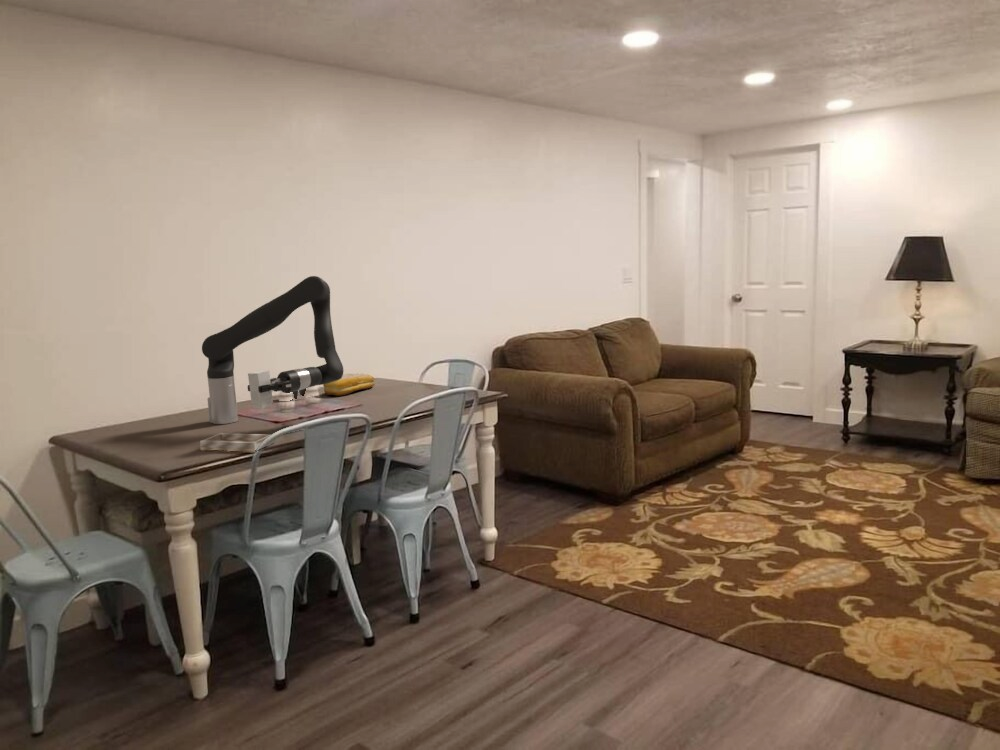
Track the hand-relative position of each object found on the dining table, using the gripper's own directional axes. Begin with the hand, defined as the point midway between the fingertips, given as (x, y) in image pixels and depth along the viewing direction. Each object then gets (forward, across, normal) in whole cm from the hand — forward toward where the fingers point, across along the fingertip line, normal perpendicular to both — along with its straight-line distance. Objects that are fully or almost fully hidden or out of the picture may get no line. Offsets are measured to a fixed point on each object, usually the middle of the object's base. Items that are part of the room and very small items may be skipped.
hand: (253, 389), depth 248 cm
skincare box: (-3, 0, +7) cm, 7 cm away
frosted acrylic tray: (+9, 0, +18) cm, 20 cm away
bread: (-78, -38, +19) cm, 89 cm away
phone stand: (-57, -47, +18) cm, 76 cm away
